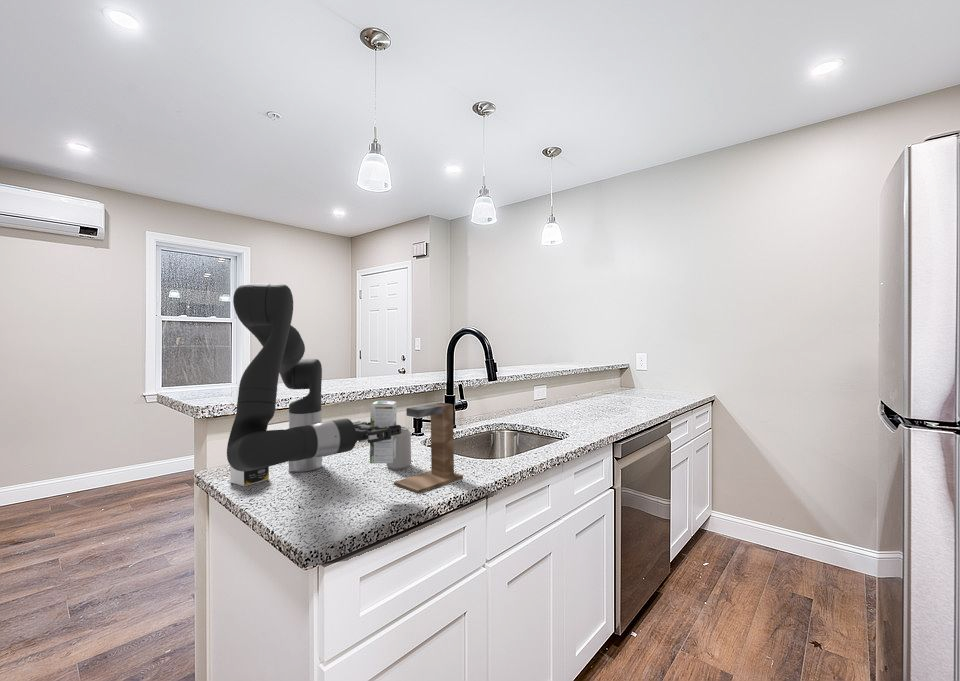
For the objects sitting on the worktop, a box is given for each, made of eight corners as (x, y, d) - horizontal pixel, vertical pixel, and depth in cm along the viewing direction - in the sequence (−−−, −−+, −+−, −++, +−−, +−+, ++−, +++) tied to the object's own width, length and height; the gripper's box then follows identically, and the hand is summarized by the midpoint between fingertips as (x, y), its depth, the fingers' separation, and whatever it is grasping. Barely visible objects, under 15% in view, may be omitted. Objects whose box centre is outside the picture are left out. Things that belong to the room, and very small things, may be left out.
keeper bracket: (418, 493, 109) (417, 412, 109) (394, 484, 116) (393, 408, 116) (462, 477, 121) (461, 404, 121) (438, 470, 127) (437, 401, 127)
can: (405, 471, 127) (405, 430, 127) (382, 470, 129) (381, 430, 129) (414, 464, 135) (414, 425, 135) (392, 463, 136) (391, 425, 136)
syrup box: (373, 457, 110) (373, 400, 110) (397, 457, 110) (396, 400, 110) (369, 464, 104) (369, 403, 104) (394, 463, 105) (394, 403, 105)
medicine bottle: (244, 487, 115) (243, 442, 115) (229, 482, 119) (229, 439, 119) (269, 479, 122) (268, 436, 121) (254, 475, 125) (254, 434, 125)
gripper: (346, 425, 92) (407, 415, 104) (314, 417, 102) (374, 409, 114) (346, 460, 92) (408, 446, 104) (314, 449, 101) (374, 437, 114)
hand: (390, 427), depth 109 cm, fingers closed on syrup box, 8 cm apart
